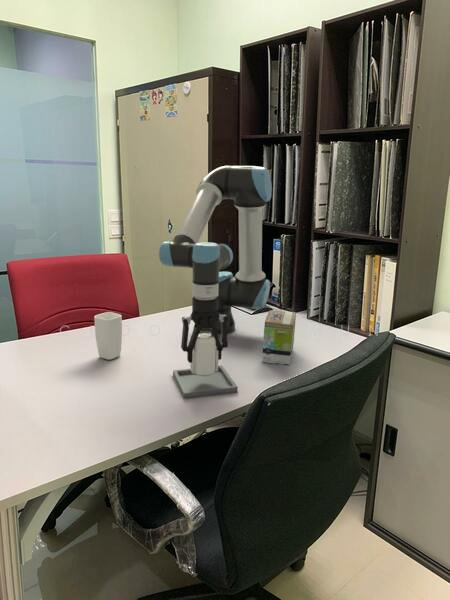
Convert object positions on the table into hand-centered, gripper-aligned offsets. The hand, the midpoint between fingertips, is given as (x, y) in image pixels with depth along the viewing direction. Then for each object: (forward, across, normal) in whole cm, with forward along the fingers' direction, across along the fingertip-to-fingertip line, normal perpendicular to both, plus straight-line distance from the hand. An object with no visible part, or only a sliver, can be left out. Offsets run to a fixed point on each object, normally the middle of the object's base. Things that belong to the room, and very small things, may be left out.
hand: (204, 370), depth 140 cm
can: (+1, 0, 0) cm, 1 cm away
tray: (+4, 0, 0) cm, 4 cm away
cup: (+5, -26, +28) cm, 38 cm away
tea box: (+5, +31, +15) cm, 35 cm away
